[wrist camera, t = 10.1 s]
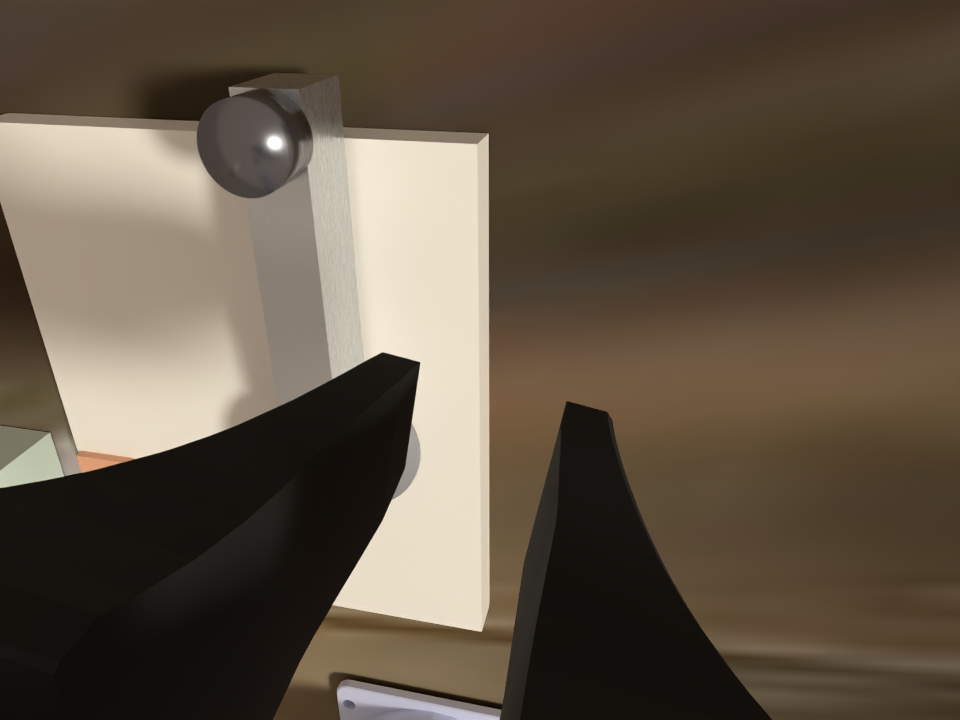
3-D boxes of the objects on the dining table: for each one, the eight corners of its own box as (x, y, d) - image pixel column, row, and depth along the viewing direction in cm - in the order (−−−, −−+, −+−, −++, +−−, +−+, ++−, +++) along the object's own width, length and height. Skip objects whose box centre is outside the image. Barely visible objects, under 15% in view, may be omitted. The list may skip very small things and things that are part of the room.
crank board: (489, 605, 26) (479, 638, 25) (133, 543, 29) (108, 571, 28) (488, 133, 19) (474, 146, 18) (8, 113, 22) (-34, 123, 20)
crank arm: (407, 504, 23) (369, 581, 20) (297, 488, 24) (246, 560, 21) (379, 75, 17) (320, 100, 15) (235, 71, 18) (152, 94, 15)
